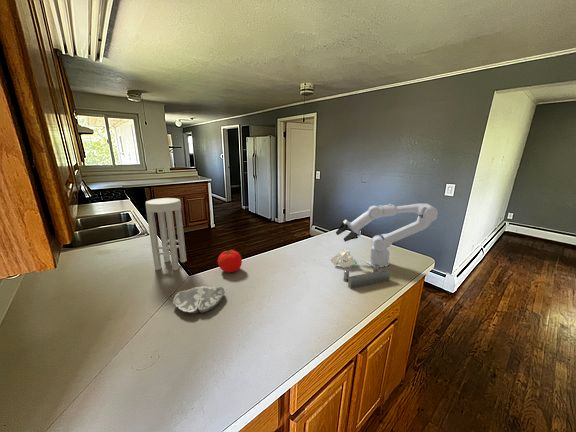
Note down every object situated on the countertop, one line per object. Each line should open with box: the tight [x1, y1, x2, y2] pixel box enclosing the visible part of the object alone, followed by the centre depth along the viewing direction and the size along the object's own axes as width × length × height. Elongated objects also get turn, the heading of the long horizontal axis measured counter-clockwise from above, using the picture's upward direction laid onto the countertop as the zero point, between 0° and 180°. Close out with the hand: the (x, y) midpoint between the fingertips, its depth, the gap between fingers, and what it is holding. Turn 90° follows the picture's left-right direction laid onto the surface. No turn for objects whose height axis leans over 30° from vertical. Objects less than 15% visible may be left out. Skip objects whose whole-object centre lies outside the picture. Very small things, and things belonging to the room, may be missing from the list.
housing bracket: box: [343, 264, 391, 290], centre depth 115 cm, size 22×8×5 cm, turn 110°
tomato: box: [217, 248, 243, 273], centre depth 121 cm, size 12×12×11 cm
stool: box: [145, 197, 187, 271], centre depth 123 cm, size 16×16×35 cm
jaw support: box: [329, 247, 358, 269], centre depth 129 cm, size 12×9×10 cm
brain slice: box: [172, 285, 226, 314], centre depth 96 cm, size 20×17×3 cm
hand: (340, 237), depth 132 cm, fingers open, 7 cm apart
